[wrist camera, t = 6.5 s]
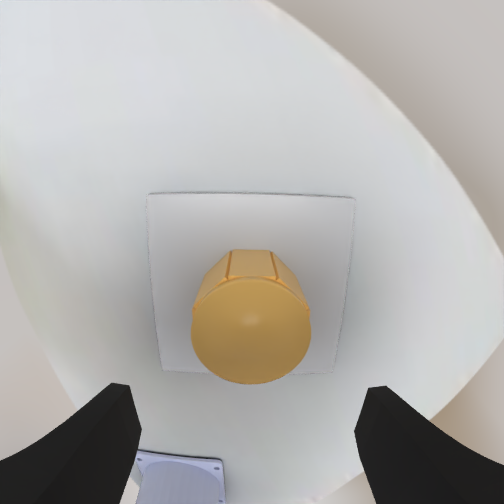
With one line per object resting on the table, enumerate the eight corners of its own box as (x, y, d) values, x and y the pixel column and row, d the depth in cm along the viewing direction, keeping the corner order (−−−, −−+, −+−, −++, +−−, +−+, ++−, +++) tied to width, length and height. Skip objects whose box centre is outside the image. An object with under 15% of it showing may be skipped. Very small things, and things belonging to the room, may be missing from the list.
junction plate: (329, 365, 19) (344, 404, 16) (164, 363, 19) (150, 402, 15) (350, 197, 16) (379, 207, 13) (150, 193, 16) (123, 202, 12)
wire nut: (292, 332, 18) (304, 383, 13) (206, 331, 18) (194, 382, 13) (298, 250, 16) (317, 282, 12) (203, 248, 16) (187, 281, 12)
